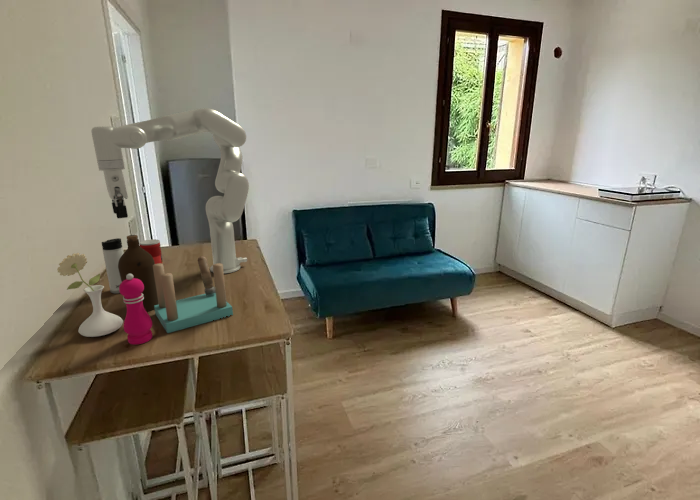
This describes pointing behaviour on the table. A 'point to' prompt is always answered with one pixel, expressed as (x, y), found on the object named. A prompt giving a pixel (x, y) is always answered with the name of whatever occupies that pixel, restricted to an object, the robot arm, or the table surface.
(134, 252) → the olive oil
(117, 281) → the travel mug
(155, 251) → the canned food
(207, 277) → the hinged leg
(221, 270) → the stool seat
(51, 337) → the table surface
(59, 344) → the table surface
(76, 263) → the flower in vase
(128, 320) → the pepper mill
